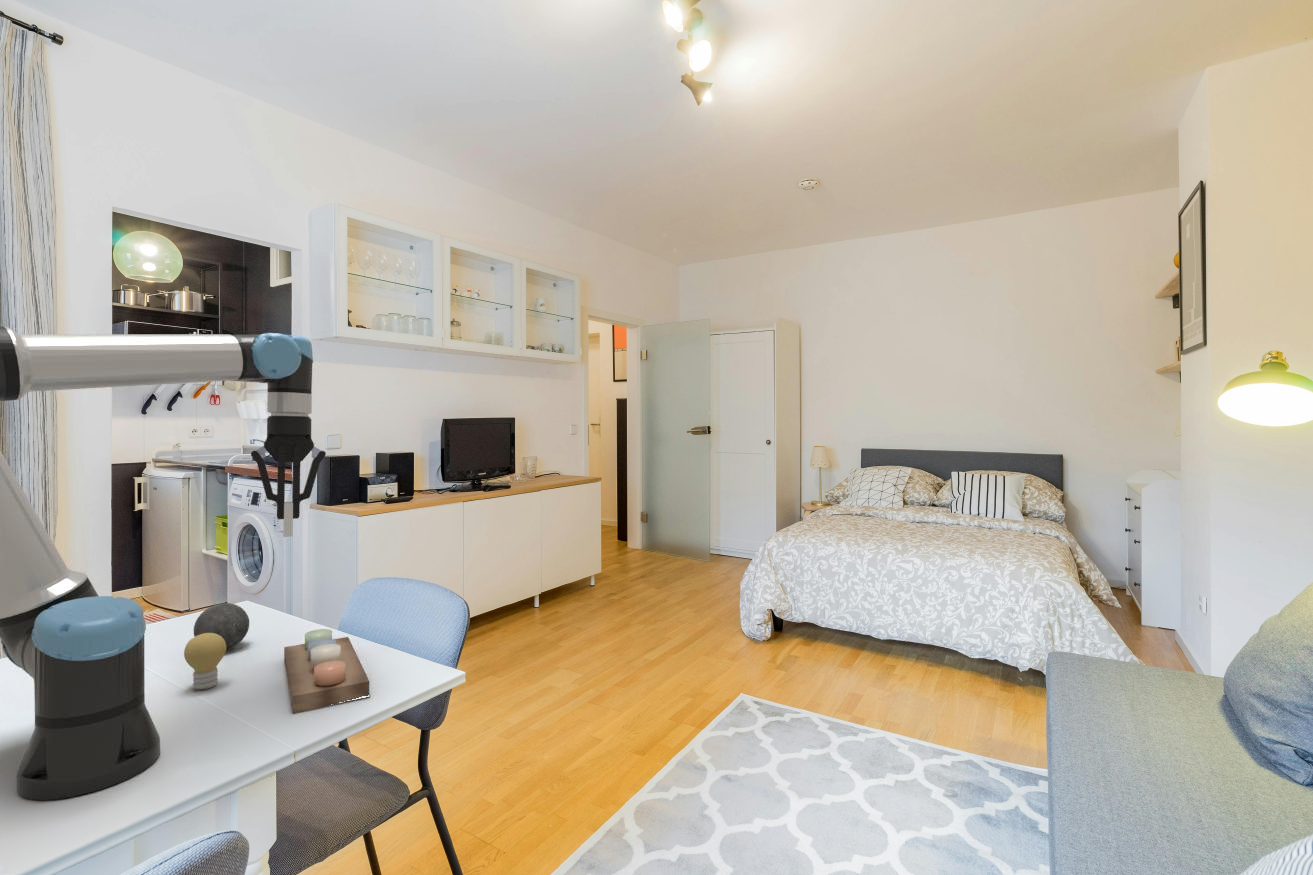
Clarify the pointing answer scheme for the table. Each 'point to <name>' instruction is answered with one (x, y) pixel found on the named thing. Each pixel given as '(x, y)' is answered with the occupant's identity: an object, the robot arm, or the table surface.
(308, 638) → the sage button
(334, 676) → the terracotta button
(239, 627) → the decorative ball
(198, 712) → the table surface
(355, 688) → the button board
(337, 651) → the cream button
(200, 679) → the light bulb
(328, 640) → the slate button
